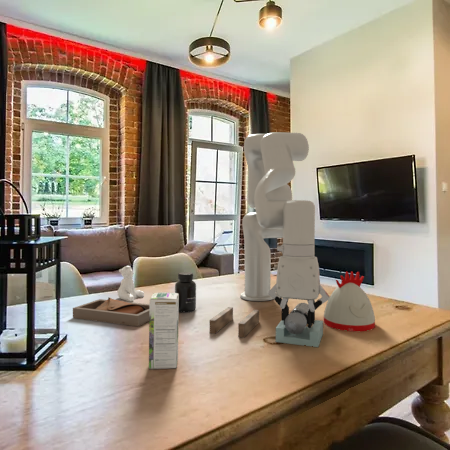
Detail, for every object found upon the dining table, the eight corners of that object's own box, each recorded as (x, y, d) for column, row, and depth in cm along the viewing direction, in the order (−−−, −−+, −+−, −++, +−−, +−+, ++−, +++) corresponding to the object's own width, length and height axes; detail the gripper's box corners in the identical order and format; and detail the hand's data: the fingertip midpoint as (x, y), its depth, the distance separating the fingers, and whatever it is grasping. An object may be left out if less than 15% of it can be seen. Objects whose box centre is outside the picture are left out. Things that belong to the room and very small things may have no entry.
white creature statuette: (131, 302, 130) (131, 268, 129) (110, 300, 132) (110, 267, 132) (145, 296, 138) (145, 264, 138) (125, 294, 141) (125, 263, 141)
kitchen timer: (385, 330, 99) (386, 275, 99) (337, 333, 97) (338, 276, 97) (358, 315, 113) (359, 267, 113) (316, 318, 111) (316, 268, 110)
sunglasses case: (86, 312, 114) (96, 292, 116) (103, 319, 119) (112, 299, 121) (124, 323, 103) (134, 300, 106) (141, 330, 108) (150, 308, 111)
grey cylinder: (294, 319, 99) (294, 302, 99) (312, 321, 98) (312, 303, 98) (284, 333, 87) (284, 312, 87) (305, 335, 85) (305, 314, 85)
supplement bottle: (192, 313, 115) (192, 275, 115) (171, 312, 117) (171, 274, 116) (198, 307, 122) (198, 271, 121) (178, 306, 123) (178, 271, 123)
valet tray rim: (99, 308, 122) (99, 299, 121) (160, 315, 113) (160, 305, 113) (72, 317, 110) (72, 308, 110) (137, 326, 102) (137, 315, 102)
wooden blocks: (228, 318, 110) (228, 307, 110) (259, 322, 106) (259, 310, 106) (209, 333, 97) (209, 320, 96) (244, 337, 93) (244, 324, 93)
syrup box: (151, 358, 80) (151, 292, 80) (179, 357, 81) (178, 291, 80) (148, 369, 74) (148, 298, 74) (178, 368, 75) (177, 298, 74)
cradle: (284, 329, 100) (284, 316, 99) (322, 334, 96) (323, 320, 96) (275, 341, 90) (275, 327, 90) (318, 347, 87) (318, 332, 87)
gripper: (260, 251, 89) (260, 325, 90) (333, 254, 83) (332, 334, 84) (268, 248, 96) (267, 317, 97) (336, 251, 90) (335, 324, 91)
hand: (297, 324), depth 90 cm, fingers open, 5 cm apart
